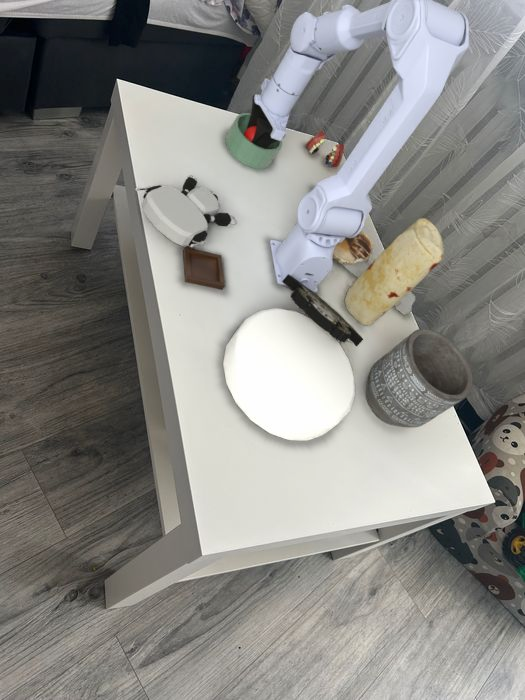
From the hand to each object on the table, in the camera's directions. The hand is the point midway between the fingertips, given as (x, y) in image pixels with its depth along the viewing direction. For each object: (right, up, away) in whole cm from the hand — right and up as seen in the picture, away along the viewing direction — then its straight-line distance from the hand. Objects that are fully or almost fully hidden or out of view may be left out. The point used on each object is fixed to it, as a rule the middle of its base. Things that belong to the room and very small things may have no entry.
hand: (252, 143), depth 114 cm
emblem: (+12, -32, -13) cm, 37 cm away
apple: (-1, -1, +1) cm, 1 cm away
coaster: (-7, -27, -21) cm, 35 cm away
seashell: (+17, -20, -11) cm, 28 cm away
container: (+5, -44, -25) cm, 51 cm away
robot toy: (-11, -19, -18) cm, 28 cm away
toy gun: (+24, -15, +6) cm, 29 cm away
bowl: (-1, -1, +1) cm, 2 cm away
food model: (+19, -32, -8) cm, 38 cm away
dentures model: (+11, +4, +9) cm, 15 cm away
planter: (+22, -48, -17) cm, 55 cm away
